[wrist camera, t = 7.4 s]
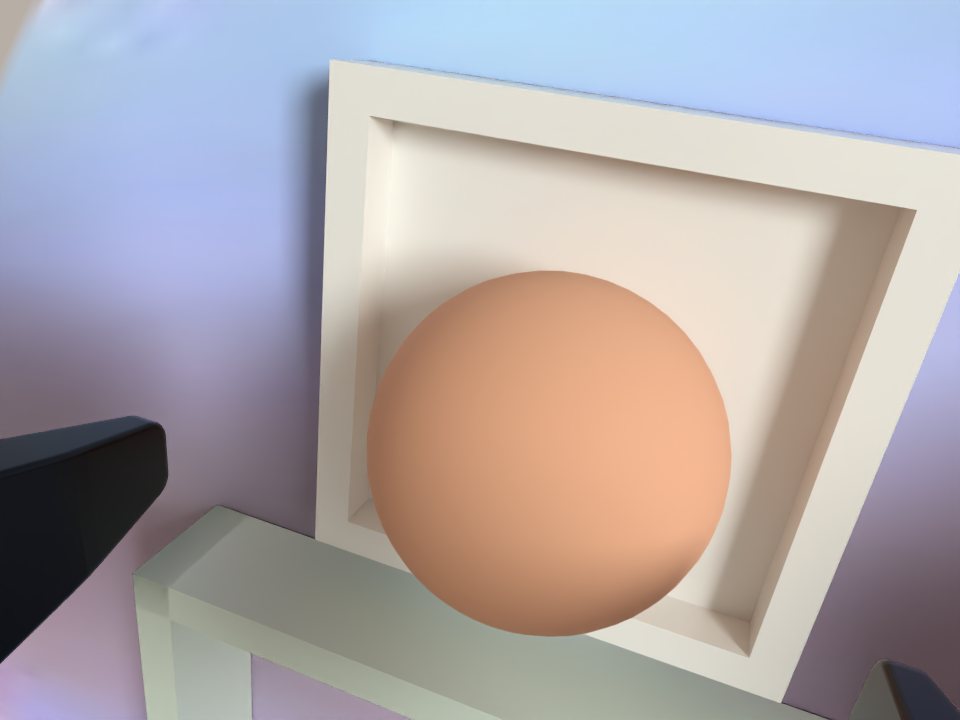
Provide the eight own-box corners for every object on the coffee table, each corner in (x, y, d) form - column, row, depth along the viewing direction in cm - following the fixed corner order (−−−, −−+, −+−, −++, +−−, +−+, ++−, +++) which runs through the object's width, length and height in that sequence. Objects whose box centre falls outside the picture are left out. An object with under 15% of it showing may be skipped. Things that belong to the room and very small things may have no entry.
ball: (692, 541, 14) (663, 787, 9) (433, 463, 16) (290, 642, 11) (773, 273, 12) (792, 414, 7) (461, 209, 13) (296, 291, 8)
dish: (778, 648, 15) (780, 703, 14) (347, 505, 18) (315, 539, 16) (975, 150, 11) (1005, 161, 10) (371, 60, 13) (329, 59, 12)
